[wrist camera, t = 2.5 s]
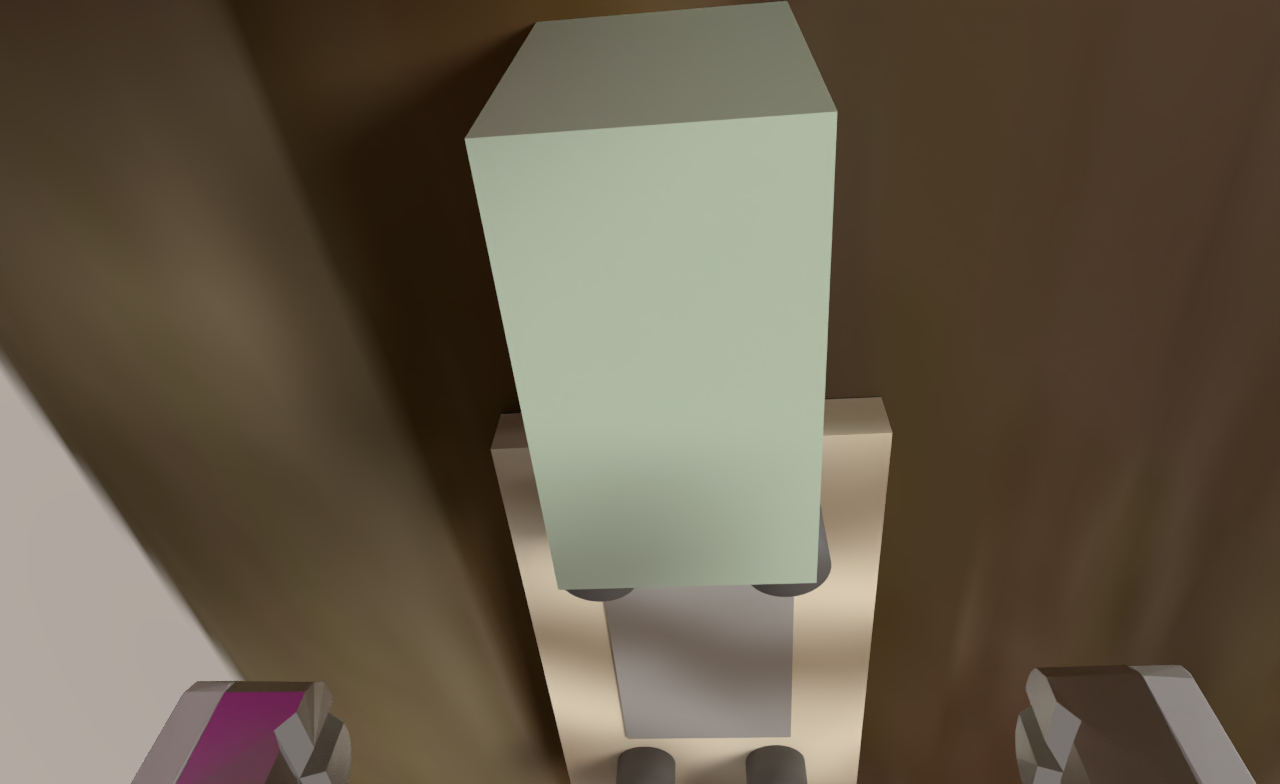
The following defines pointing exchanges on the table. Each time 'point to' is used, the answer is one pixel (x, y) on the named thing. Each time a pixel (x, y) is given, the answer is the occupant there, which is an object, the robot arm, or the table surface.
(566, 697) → the stub cradle
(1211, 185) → the table surface
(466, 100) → the table surface
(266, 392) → the table surface
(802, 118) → the sage block
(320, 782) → the robot arm
